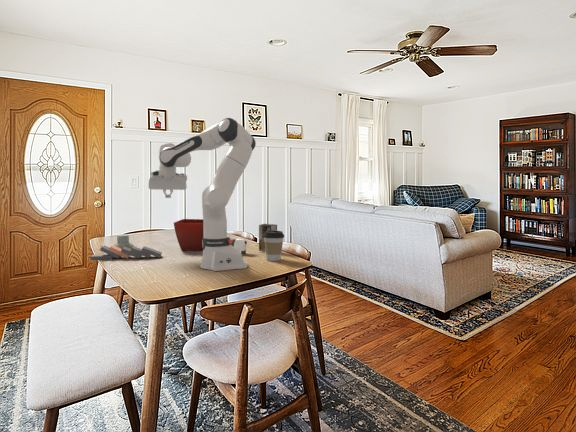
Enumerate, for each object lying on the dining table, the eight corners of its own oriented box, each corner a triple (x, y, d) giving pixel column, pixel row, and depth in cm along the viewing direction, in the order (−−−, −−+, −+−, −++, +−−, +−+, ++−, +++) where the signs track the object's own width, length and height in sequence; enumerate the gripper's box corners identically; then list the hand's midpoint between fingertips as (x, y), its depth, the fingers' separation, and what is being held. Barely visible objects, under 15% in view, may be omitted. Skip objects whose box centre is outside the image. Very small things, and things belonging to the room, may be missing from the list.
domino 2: (122, 253, 192) (104, 245, 190) (119, 255, 187) (101, 246, 185) (121, 256, 192) (103, 248, 190) (118, 258, 187) (99, 250, 185)
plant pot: (206, 252, 208) (206, 223, 206) (173, 251, 208) (173, 222, 206) (213, 245, 227) (213, 219, 225) (183, 245, 227) (183, 218, 225)
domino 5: (151, 252, 194) (133, 245, 191) (150, 254, 189) (131, 247, 186) (150, 256, 194) (131, 249, 191) (149, 258, 189) (130, 251, 186)
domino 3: (131, 253, 192) (113, 245, 190) (129, 255, 187) (110, 246, 186) (129, 256, 192) (111, 248, 190) (127, 258, 187) (108, 250, 186)
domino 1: (114, 253, 191) (93, 254, 189) (111, 255, 186) (90, 256, 184) (114, 257, 191) (93, 258, 189) (111, 259, 186) (90, 260, 184)
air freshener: (114, 255, 196) (114, 237, 195) (111, 252, 202) (110, 235, 201) (135, 252, 203) (135, 235, 202) (131, 250, 209) (131, 233, 208)
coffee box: (277, 251, 211) (277, 224, 210) (271, 253, 206) (271, 225, 204) (264, 249, 216) (265, 223, 214) (258, 251, 211) (258, 224, 209)
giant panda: (248, 253, 206) (248, 236, 205) (245, 255, 200) (245, 238, 200) (223, 252, 208) (223, 235, 207) (220, 254, 203) (220, 237, 202)
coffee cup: (288, 259, 190) (289, 231, 189) (273, 263, 182) (273, 234, 180) (273, 256, 198) (273, 229, 196) (258, 259, 190) (258, 231, 188)
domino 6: (162, 252, 195) (143, 246, 192) (161, 254, 190) (142, 247, 188) (160, 256, 195) (142, 249, 192) (159, 258, 190) (141, 251, 188)
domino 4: (142, 253, 193) (124, 246, 190) (141, 255, 188) (122, 248, 186) (141, 256, 193) (122, 250, 190) (139, 258, 188) (120, 251, 186)
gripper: (187, 173, 206) (187, 197, 208) (149, 172, 202) (150, 197, 203) (186, 173, 200) (187, 198, 201) (147, 172, 195) (148, 198, 197)
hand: (168, 197), depth 202 cm, fingers closed
